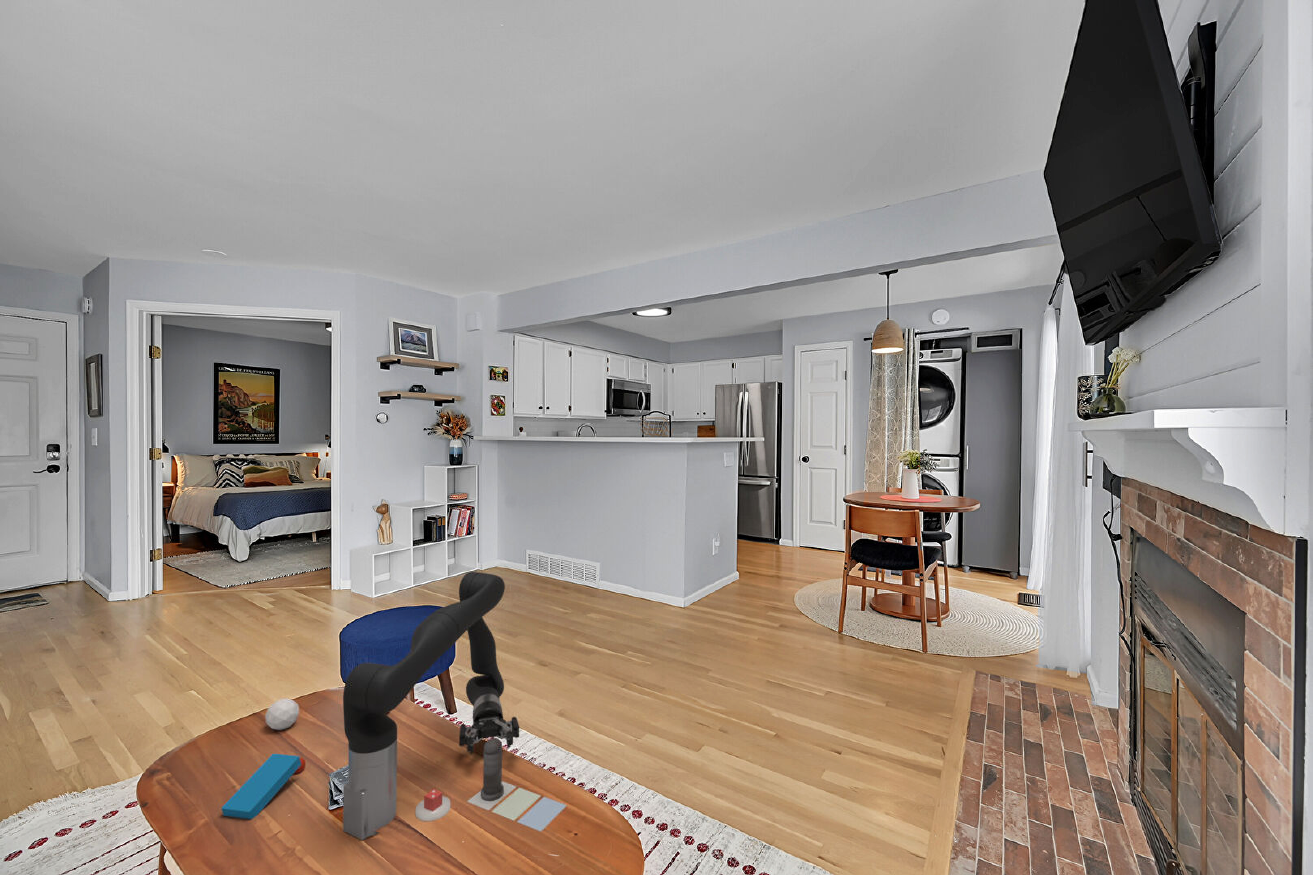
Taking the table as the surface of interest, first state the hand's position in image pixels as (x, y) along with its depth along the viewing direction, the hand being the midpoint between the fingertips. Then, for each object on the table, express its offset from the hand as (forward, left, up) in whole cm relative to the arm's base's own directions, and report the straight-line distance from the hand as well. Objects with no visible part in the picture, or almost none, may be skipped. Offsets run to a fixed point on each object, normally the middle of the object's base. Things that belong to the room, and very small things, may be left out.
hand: (490, 746), depth 136 cm
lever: (-27, +41, -8) cm, 49 cm away
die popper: (-16, +2, -8) cm, 17 cm away
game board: (-6, -13, -8) cm, 16 cm away
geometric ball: (-9, +66, -8) cm, 67 cm away
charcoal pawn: (-6, -6, -7) cm, 10 cm away
